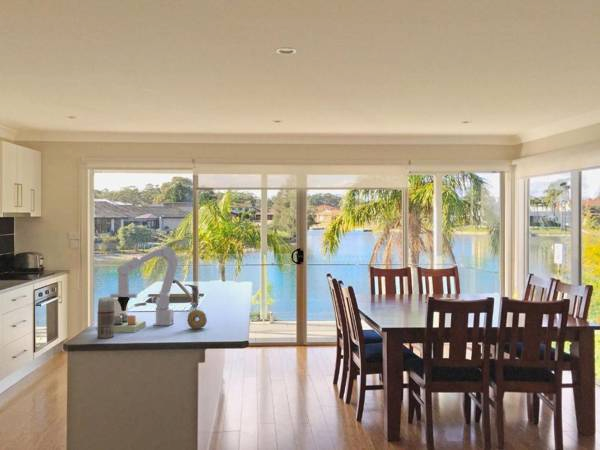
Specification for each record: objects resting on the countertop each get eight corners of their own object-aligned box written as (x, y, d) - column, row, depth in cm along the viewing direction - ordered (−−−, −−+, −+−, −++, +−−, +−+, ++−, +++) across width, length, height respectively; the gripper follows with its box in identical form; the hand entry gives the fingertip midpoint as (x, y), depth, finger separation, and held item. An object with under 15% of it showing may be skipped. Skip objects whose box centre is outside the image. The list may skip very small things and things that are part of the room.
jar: (107, 325, 304) (107, 299, 303) (109, 322, 314) (108, 296, 313) (127, 324, 306) (127, 298, 306) (128, 321, 316) (128, 295, 316)
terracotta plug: (136, 323, 294) (136, 315, 294) (133, 325, 290) (133, 316, 290) (129, 323, 294) (129, 315, 294) (126, 324, 290) (126, 316, 290)
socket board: (145, 326, 301) (145, 321, 301) (134, 332, 286) (134, 326, 286) (119, 326, 303) (119, 320, 303) (107, 331, 288) (107, 326, 288)
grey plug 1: (123, 323, 293) (123, 315, 293) (119, 325, 289) (119, 316, 289) (116, 323, 293) (115, 315, 293) (112, 325, 289) (112, 316, 289)
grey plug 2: (128, 321, 300) (128, 313, 300) (125, 322, 296) (125, 314, 296) (121, 321, 301) (121, 313, 301) (118, 322, 297) (118, 314, 297)
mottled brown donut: (186, 329, 293) (186, 310, 293) (188, 327, 297) (188, 309, 297) (205, 329, 293) (205, 310, 293) (207, 328, 296) (207, 309, 296)
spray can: (116, 335, 280) (116, 296, 279) (111, 338, 271) (111, 298, 271) (100, 335, 279) (99, 296, 279) (94, 338, 271) (94, 298, 271)
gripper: (107, 286, 295) (107, 311, 295) (133, 287, 294) (133, 312, 294) (113, 285, 302) (113, 309, 302) (138, 285, 301) (138, 309, 301)
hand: (123, 310), depth 299 cm, fingers closed
